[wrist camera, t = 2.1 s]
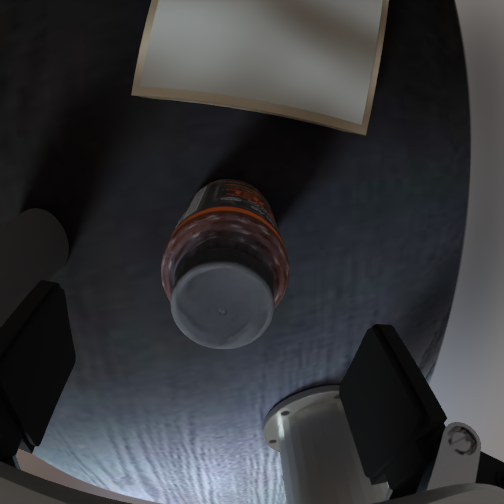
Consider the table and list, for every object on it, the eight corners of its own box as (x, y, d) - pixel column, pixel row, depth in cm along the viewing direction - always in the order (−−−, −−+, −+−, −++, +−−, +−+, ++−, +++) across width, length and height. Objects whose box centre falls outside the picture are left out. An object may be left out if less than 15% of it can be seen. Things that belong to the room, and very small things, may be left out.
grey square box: (343, 131, 20) (367, 135, 16) (149, 98, 19) (129, 94, 15) (370, -27, 15) (395, -48, 11) (189, -62, 14) (181, -92, 10)
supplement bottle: (288, 202, 22) (334, 282, 12) (246, 271, 24) (255, 385, 14) (209, 160, 21) (183, 207, 10) (172, 235, 23) (126, 335, 12)
